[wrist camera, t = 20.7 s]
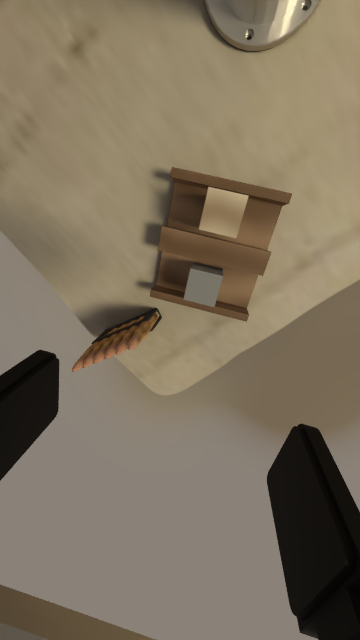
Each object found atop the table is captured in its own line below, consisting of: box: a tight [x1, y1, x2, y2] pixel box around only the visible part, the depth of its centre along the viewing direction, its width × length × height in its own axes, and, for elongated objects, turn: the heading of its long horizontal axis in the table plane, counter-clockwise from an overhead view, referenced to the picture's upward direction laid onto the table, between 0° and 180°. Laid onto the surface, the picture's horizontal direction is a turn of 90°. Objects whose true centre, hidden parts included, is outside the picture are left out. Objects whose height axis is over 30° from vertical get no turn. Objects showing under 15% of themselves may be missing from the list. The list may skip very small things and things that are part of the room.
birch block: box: [199, 187, 249, 238], centre depth 27 cm, size 4×4×8 cm
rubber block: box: [183, 262, 223, 307], centre depth 32 cm, size 4×4×6 cm
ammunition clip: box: [72, 308, 162, 372], centre depth 35 cm, size 11×2×12 cm, turn 116°
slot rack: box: [150, 167, 292, 322], centre depth 32 cm, size 16×14×4 cm
